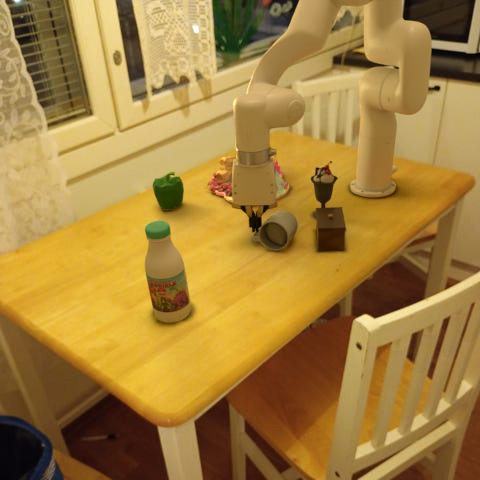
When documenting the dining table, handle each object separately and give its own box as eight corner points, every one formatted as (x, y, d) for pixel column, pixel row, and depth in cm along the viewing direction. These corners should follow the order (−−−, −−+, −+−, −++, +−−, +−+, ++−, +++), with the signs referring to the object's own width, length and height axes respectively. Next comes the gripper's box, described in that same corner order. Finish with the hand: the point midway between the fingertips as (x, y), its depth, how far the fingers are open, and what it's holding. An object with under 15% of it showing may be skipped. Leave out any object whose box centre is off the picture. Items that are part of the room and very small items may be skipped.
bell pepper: (150, 211, 147) (144, 177, 141) (164, 198, 153) (159, 165, 147) (177, 214, 144) (171, 180, 138) (190, 201, 150) (185, 168, 144)
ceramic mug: (299, 236, 130) (299, 208, 125) (289, 253, 124) (288, 223, 119) (259, 231, 134) (257, 203, 129) (247, 247, 128) (245, 218, 123)
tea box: (317, 251, 124) (318, 225, 120) (315, 230, 132) (316, 205, 128) (344, 251, 123) (346, 225, 119) (340, 229, 131) (342, 204, 127)
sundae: (335, 221, 135) (337, 164, 126) (309, 220, 136) (309, 164, 127) (336, 209, 140) (339, 154, 131) (311, 208, 141) (312, 154, 132)
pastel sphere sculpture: (193, 188, 157) (190, 157, 152) (251, 164, 169) (249, 135, 163) (251, 212, 142) (249, 180, 136) (309, 184, 154) (309, 153, 148)
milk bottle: (155, 303, 112) (137, 218, 99) (191, 299, 112) (178, 214, 100) (153, 325, 106) (134, 238, 93) (191, 321, 106) (177, 233, 94)
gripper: (287, 148, 118) (286, 222, 129) (221, 149, 119) (226, 223, 130) (286, 160, 112) (286, 237, 123) (217, 161, 113) (223, 237, 124)
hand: (255, 229), depth 127 cm, fingers closed
